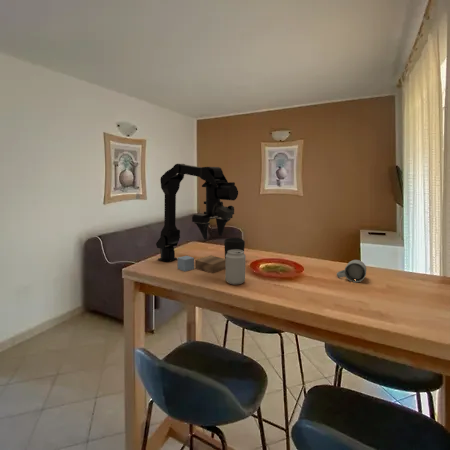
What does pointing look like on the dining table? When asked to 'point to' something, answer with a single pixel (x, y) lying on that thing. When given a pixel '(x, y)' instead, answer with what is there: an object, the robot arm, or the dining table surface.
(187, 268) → the cube
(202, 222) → the robot arm
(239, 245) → the pen holder
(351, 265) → the ceramic mug
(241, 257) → the can
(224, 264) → the walnut block
